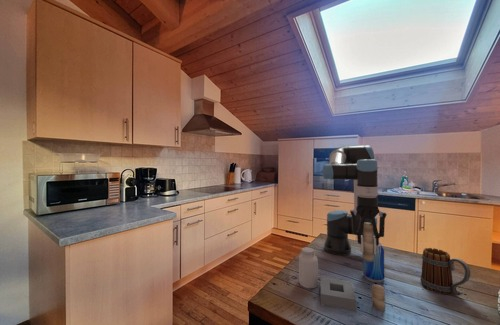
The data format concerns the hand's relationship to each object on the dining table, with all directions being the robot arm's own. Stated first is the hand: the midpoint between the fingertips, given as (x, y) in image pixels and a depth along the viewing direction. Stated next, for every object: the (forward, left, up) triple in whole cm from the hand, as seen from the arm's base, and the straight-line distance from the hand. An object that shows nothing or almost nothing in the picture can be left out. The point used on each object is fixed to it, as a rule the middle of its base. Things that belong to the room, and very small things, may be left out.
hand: (368, 252), depth 87 cm
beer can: (-10, +4, -16) cm, 19 cm away
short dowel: (+11, +1, -15) cm, 19 cm away
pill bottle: (+4, -24, -16) cm, 29 cm away
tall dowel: (0, 0, -3) cm, 3 cm away
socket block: (+10, -13, -15) cm, 23 cm away
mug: (-8, +29, -16) cm, 34 cm away
